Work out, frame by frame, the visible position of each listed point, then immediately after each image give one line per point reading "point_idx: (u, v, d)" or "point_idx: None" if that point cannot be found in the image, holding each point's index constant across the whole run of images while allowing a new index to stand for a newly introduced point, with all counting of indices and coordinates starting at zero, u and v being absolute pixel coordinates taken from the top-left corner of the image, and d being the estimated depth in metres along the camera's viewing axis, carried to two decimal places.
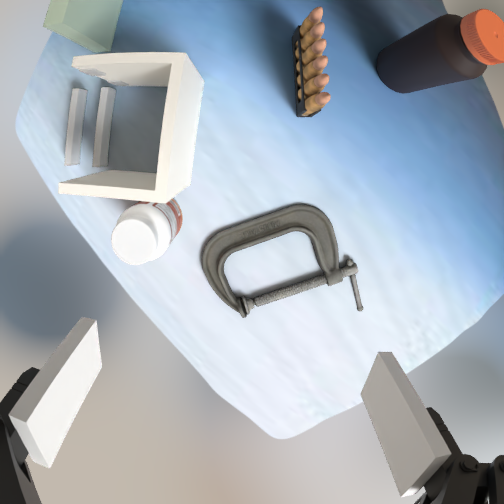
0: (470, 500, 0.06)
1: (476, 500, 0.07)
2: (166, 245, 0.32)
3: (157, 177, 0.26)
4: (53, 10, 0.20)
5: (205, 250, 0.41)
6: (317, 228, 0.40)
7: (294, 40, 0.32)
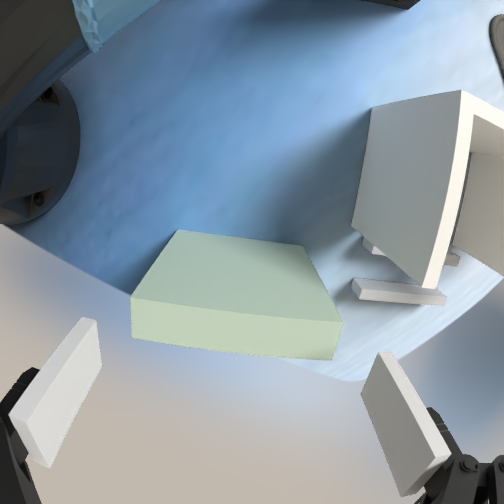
0: (470, 500, 0.06)
1: (476, 500, 0.07)
2: None
3: None
4: (305, 346, 0.17)
5: None
6: None
7: None
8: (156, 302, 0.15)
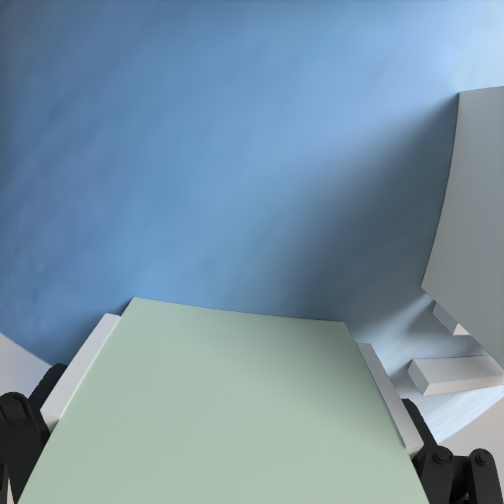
0: (446, 492, 0.06)
1: (453, 494, 0.07)
2: None
3: None
4: None
5: None
6: None
7: None
8: None
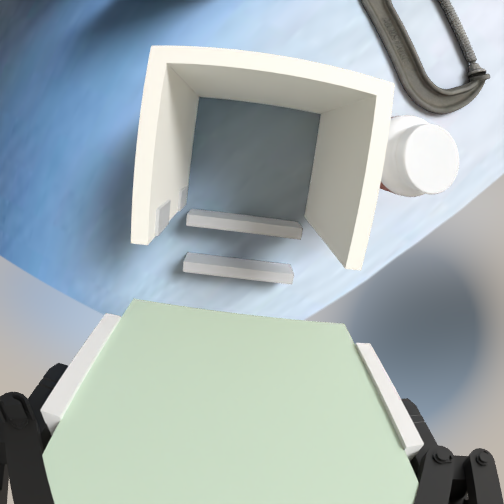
0: (446, 492, 0.06)
1: (453, 493, 0.07)
2: (427, 122, 0.19)
3: (357, 88, 0.15)
4: None
5: (426, 106, 0.26)
6: None
7: None
8: None
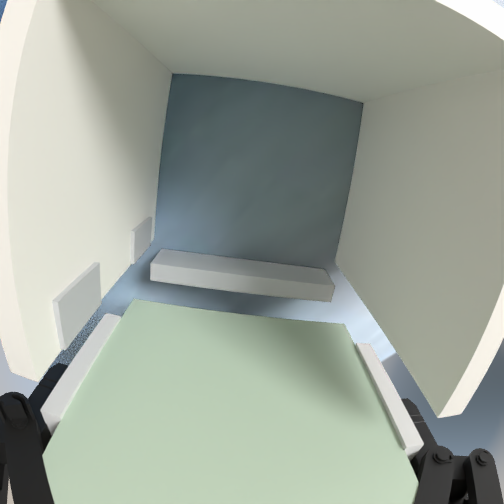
0: (446, 492, 0.06)
1: (453, 494, 0.07)
2: None
3: None
4: None
5: None
6: None
7: None
8: None
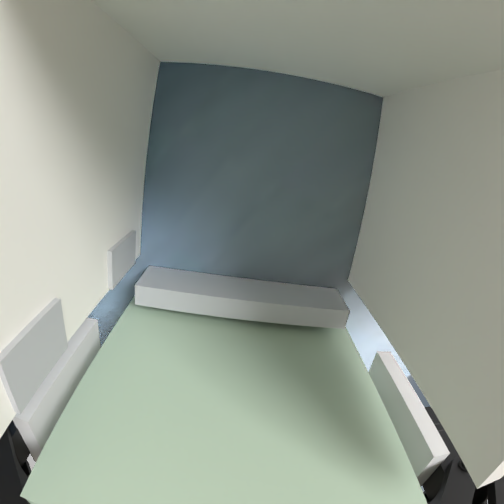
0: (469, 499, 0.06)
1: (475, 499, 0.07)
2: None
3: None
4: None
5: None
6: None
7: None
8: None
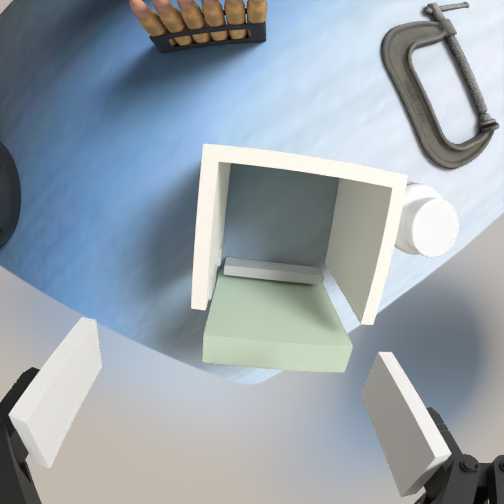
0: (470, 500, 0.06)
1: (476, 500, 0.07)
2: (434, 190, 0.24)
3: (377, 183, 0.19)
4: (326, 363, 0.23)
5: (442, 163, 0.30)
6: (404, 41, 0.26)
7: (167, 46, 0.26)
8: (223, 337, 0.22)
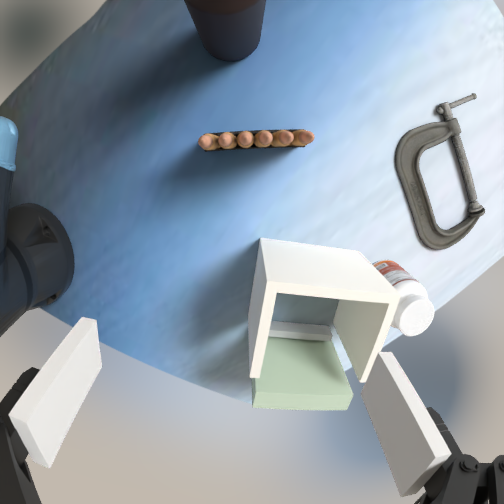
0: (470, 500, 0.06)
1: (476, 500, 0.07)
2: (420, 285, 0.33)
3: (379, 301, 0.28)
4: (335, 405, 0.33)
5: (433, 247, 0.40)
6: (415, 145, 0.36)
7: (215, 150, 0.34)
8: (269, 393, 0.32)
